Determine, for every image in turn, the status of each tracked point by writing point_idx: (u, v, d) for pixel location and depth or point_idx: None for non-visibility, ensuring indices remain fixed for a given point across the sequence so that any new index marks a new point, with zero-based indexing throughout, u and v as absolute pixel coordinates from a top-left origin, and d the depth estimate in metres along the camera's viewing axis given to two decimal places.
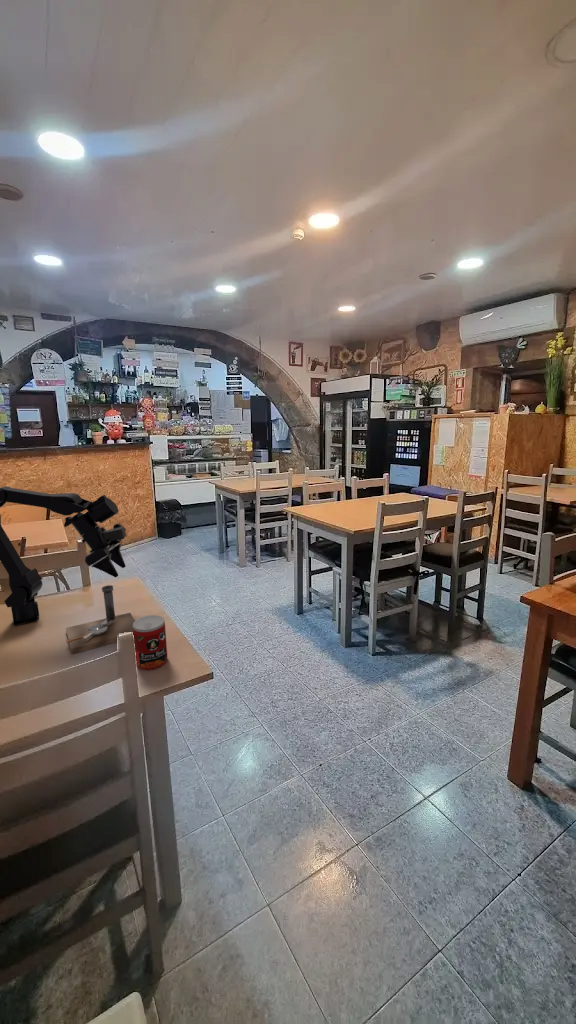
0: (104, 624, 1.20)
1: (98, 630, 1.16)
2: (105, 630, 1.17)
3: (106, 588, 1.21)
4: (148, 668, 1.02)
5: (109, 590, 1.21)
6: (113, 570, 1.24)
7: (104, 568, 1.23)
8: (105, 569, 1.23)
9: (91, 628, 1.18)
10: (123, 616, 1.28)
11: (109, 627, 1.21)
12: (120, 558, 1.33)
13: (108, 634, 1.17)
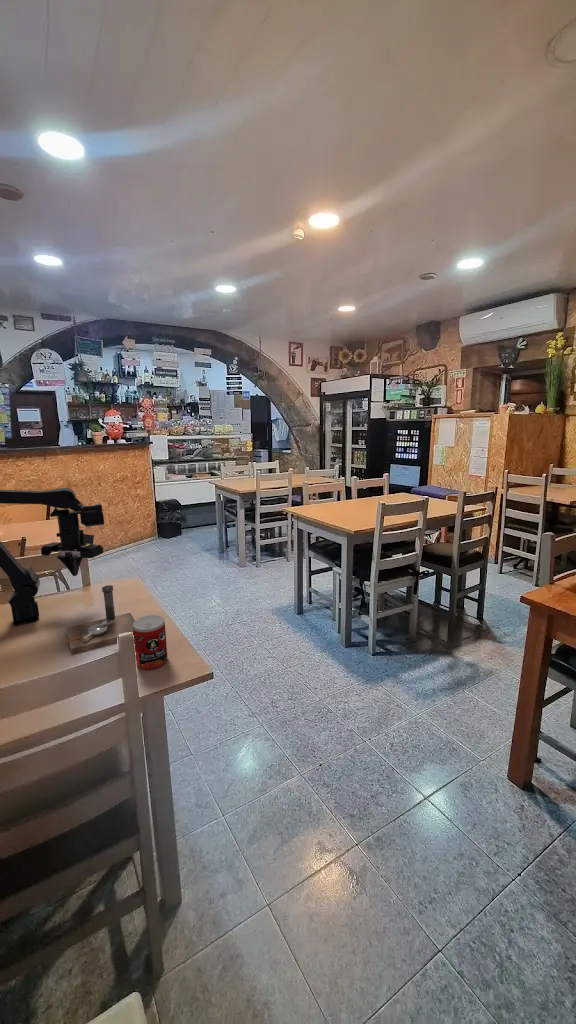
0: (104, 624, 1.20)
1: (98, 630, 1.16)
2: (105, 630, 1.17)
3: (106, 588, 1.21)
4: (148, 668, 1.02)
5: (109, 590, 1.21)
6: (78, 568, 1.34)
7: (75, 564, 1.32)
8: (75, 565, 1.32)
9: (91, 628, 1.18)
10: (123, 616, 1.28)
11: (109, 627, 1.21)
12: None
13: (108, 634, 1.17)
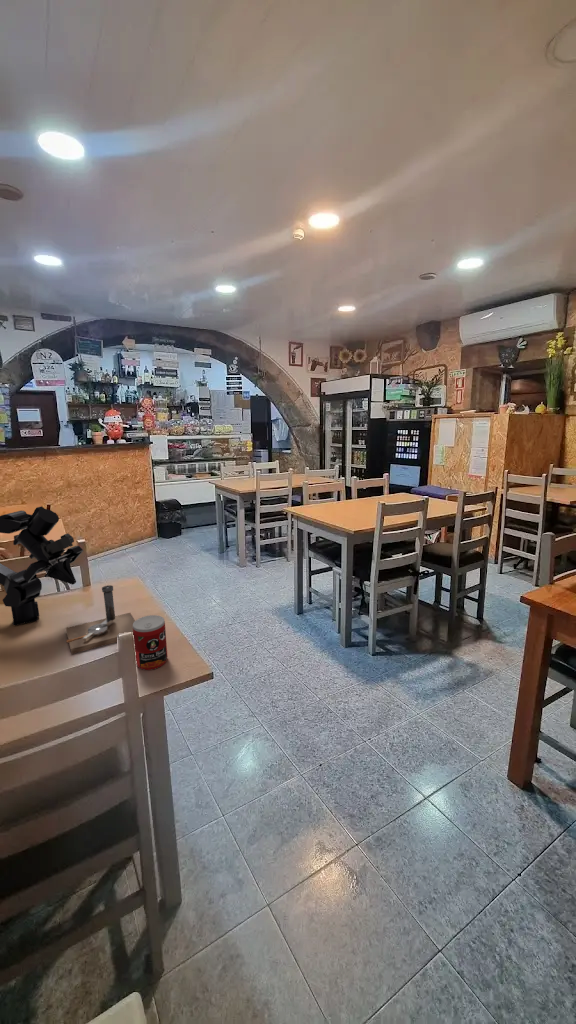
0: (104, 624, 1.20)
1: (98, 630, 1.16)
2: (105, 630, 1.17)
3: (106, 588, 1.21)
4: (148, 668, 1.02)
5: (109, 590, 1.21)
6: (67, 578, 1.22)
7: (59, 577, 1.22)
8: (60, 577, 1.22)
9: (91, 628, 1.18)
10: (123, 616, 1.28)
11: (109, 627, 1.21)
12: (69, 574, 1.23)
13: (108, 634, 1.17)
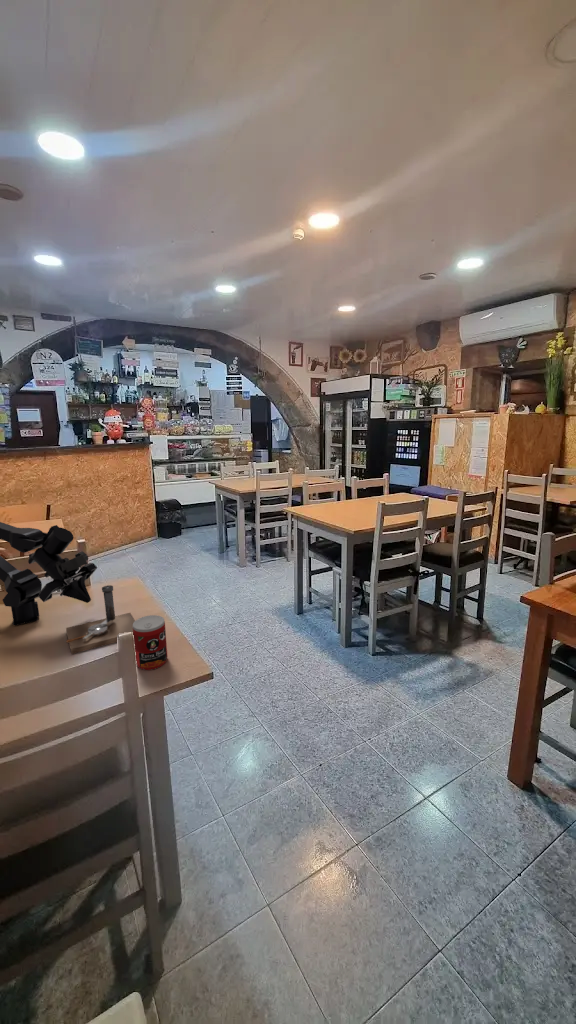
0: (104, 624, 1.20)
1: (98, 630, 1.16)
2: (105, 630, 1.17)
3: (106, 588, 1.21)
4: (148, 668, 1.02)
5: (109, 590, 1.21)
6: (82, 596, 1.22)
7: (74, 595, 1.22)
8: (75, 596, 1.22)
9: (91, 628, 1.18)
10: (123, 616, 1.28)
11: (109, 627, 1.21)
12: (84, 592, 1.23)
13: (108, 634, 1.17)
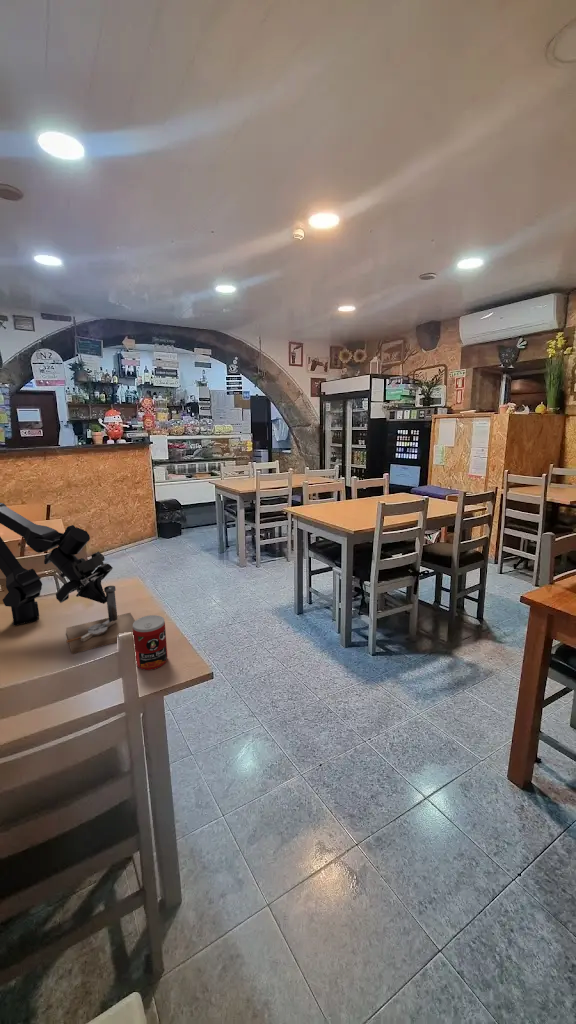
0: (105, 624, 1.20)
1: (97, 630, 1.16)
2: (104, 631, 1.17)
3: (108, 588, 1.21)
4: (148, 668, 1.02)
5: (111, 590, 1.20)
6: (99, 597, 1.21)
7: (90, 596, 1.21)
8: (91, 597, 1.21)
9: (91, 628, 1.18)
10: (123, 616, 1.28)
11: (109, 627, 1.21)
12: (100, 592, 1.22)
13: (108, 634, 1.17)
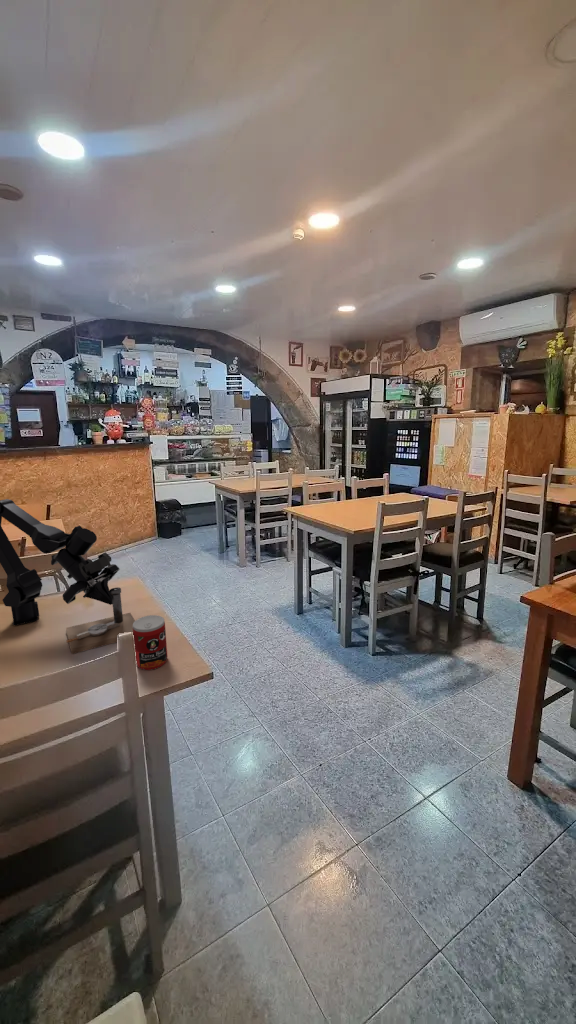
0: (106, 626, 1.19)
1: (94, 630, 1.16)
2: (101, 632, 1.16)
3: (113, 590, 1.19)
4: (148, 668, 1.02)
5: (114, 593, 1.19)
6: (106, 598, 1.20)
7: (97, 597, 1.20)
8: (98, 598, 1.20)
9: (93, 626, 1.19)
10: (123, 616, 1.28)
11: None
12: (107, 594, 1.21)
13: (108, 634, 1.17)
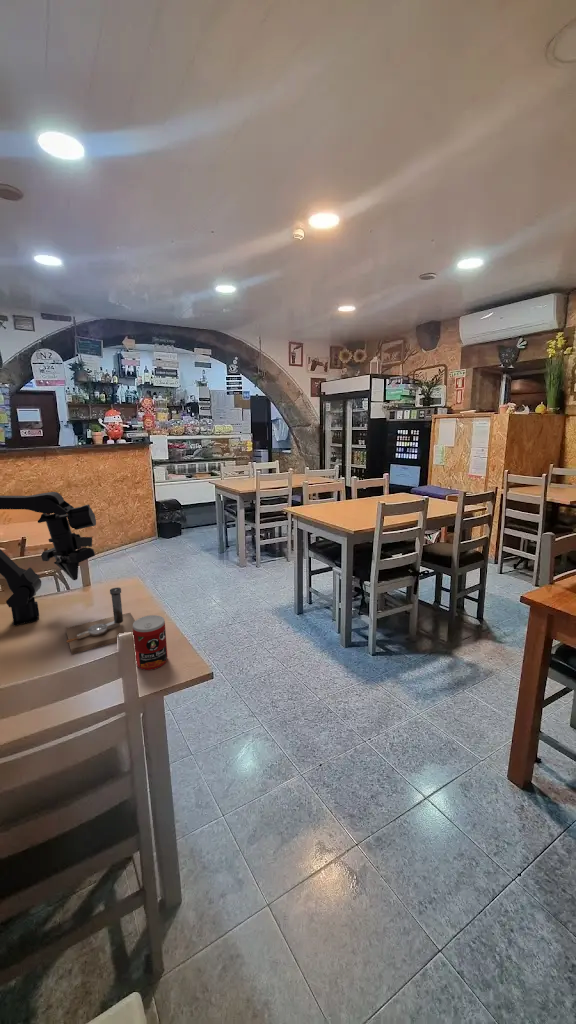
0: (106, 626, 1.19)
1: (94, 630, 1.16)
2: (101, 632, 1.16)
3: (113, 590, 1.19)
4: (148, 668, 1.02)
5: (114, 593, 1.19)
6: (76, 572, 1.31)
7: (71, 568, 1.29)
8: (71, 570, 1.29)
9: (93, 626, 1.19)
10: (123, 616, 1.28)
11: None
12: None
13: (108, 634, 1.17)
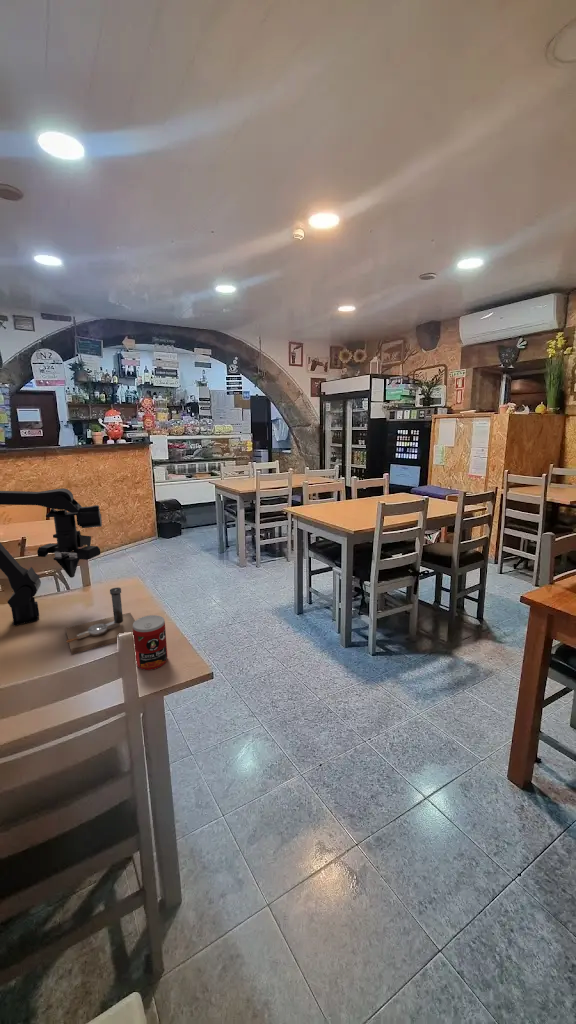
0: (106, 626, 1.19)
1: (94, 630, 1.16)
2: (101, 632, 1.16)
3: (113, 590, 1.19)
4: (148, 668, 1.02)
5: (114, 593, 1.19)
6: (75, 570, 1.32)
7: (72, 566, 1.30)
8: (72, 567, 1.30)
9: (93, 626, 1.19)
10: (123, 616, 1.28)
11: None
12: None
13: (108, 634, 1.17)
